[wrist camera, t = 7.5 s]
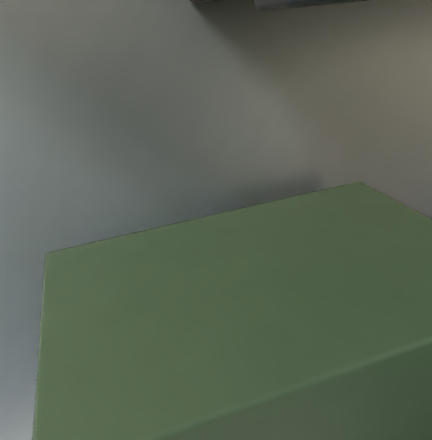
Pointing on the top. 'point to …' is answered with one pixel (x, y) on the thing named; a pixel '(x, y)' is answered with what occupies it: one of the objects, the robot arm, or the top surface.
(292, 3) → the storage box
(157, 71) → the top surface
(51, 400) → the sage box
